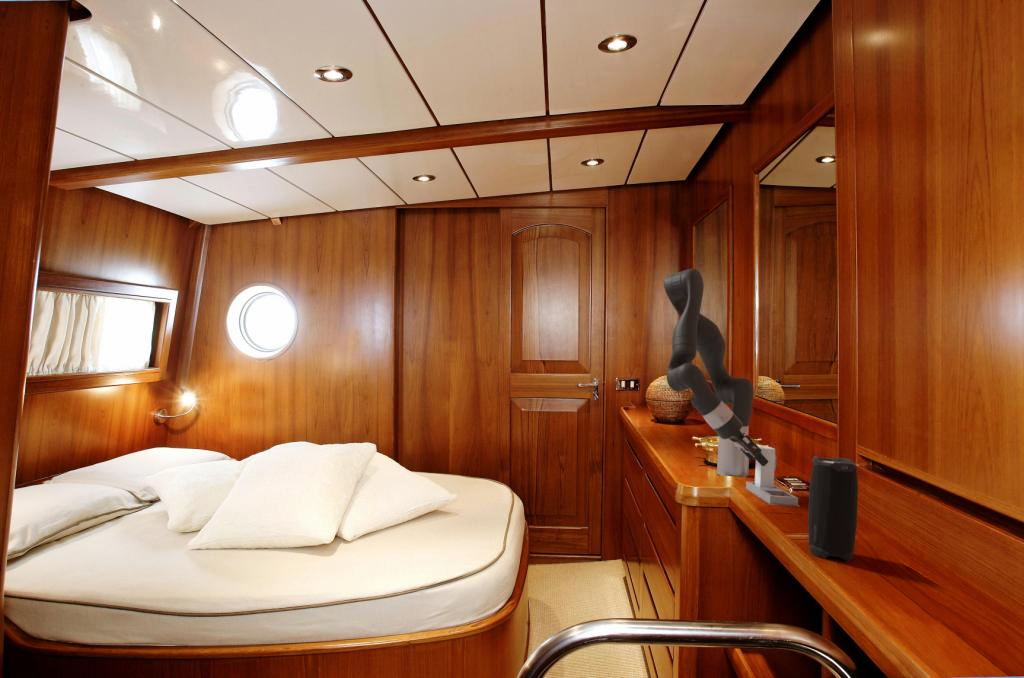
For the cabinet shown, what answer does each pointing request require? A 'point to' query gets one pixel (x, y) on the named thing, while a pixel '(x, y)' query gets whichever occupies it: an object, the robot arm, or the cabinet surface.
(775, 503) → the panel
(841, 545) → the portable speaker
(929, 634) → the cabinet surface
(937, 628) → the cabinet surface
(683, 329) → the robot arm
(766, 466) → the plug
